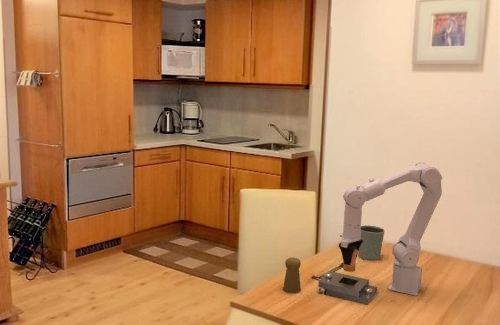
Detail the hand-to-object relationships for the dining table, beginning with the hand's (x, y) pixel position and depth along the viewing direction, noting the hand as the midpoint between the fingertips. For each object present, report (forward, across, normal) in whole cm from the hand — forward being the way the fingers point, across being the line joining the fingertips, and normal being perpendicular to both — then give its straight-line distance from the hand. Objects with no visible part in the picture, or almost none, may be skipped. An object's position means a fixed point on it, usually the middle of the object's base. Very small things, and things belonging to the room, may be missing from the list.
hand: (349, 262), depth 173 cm
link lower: (+9, +4, +3) cm, 10 cm away
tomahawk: (+10, -11, -9) cm, 17 cm away
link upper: (+9, +4, 0) cm, 10 cm away
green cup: (+10, -35, -3) cm, 37 cm away
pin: (+3, 0, 0) cm, 3 cm away
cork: (+10, +12, -16) cm, 22 cm away
